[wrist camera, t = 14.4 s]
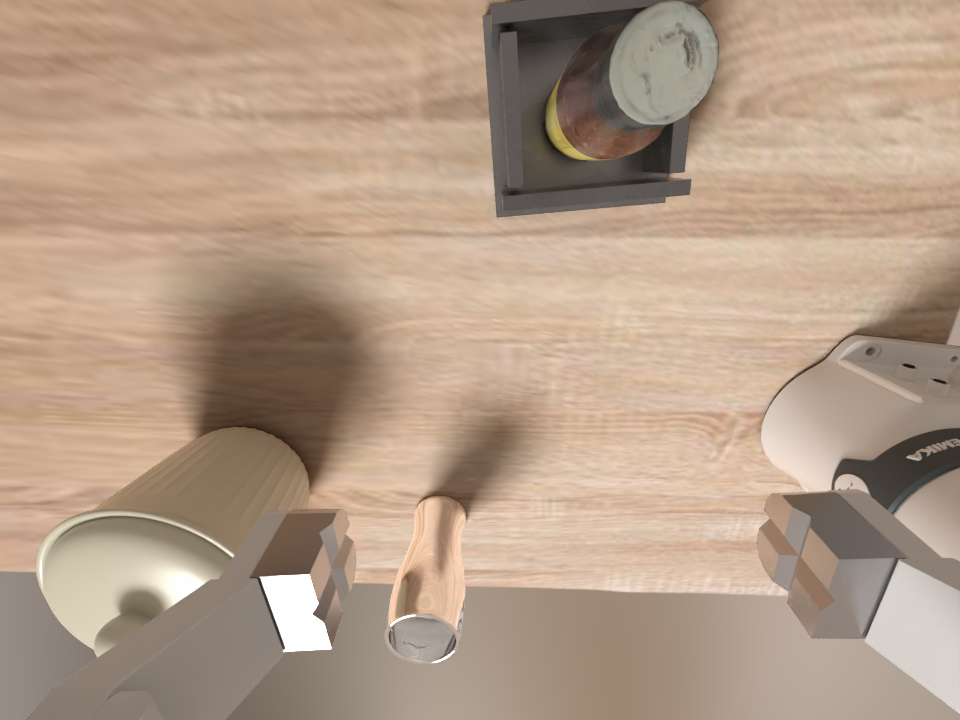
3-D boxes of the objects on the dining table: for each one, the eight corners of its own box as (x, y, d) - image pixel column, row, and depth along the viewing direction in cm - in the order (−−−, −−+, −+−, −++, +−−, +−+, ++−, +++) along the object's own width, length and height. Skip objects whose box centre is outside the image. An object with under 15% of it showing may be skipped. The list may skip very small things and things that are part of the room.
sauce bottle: (631, 75, 33) (799, -34, 15) (613, 165, 36) (738, 166, 18) (544, 65, 33) (609, -57, 15) (532, 156, 36) (574, 147, 17)
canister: (316, 394, 46) (190, 559, 27) (350, 527, 53) (270, 732, 34) (149, 403, 47) (-88, 570, 28) (205, 533, 54) (47, 736, 35)
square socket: (675, -3, 32) (721, -44, 26) (660, 201, 38) (695, 209, 31) (482, 19, 33) (480, -16, 27) (496, 216, 39) (497, 226, 32)
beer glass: (433, 481, 50) (411, 601, 37) (481, 511, 52) (478, 636, 38) (399, 519, 53) (366, 644, 39) (447, 546, 54) (432, 676, 40)
